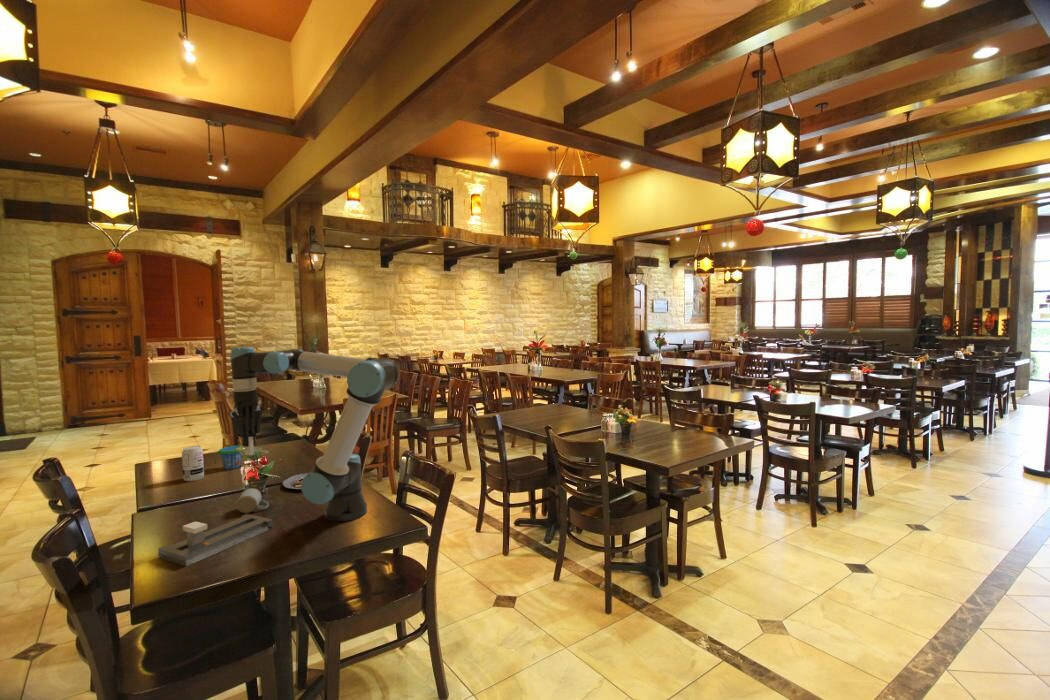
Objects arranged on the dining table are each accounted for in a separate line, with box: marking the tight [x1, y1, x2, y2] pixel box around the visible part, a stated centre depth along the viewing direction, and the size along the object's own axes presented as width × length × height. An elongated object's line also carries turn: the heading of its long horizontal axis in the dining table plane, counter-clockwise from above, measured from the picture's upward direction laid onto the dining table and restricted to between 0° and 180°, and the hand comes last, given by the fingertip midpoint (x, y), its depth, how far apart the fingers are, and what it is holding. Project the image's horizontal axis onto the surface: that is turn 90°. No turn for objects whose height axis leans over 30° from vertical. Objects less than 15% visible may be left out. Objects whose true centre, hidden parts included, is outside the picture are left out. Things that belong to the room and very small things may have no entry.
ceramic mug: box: [236, 488, 270, 514], centre depth 194 cm, size 11×8×8 cm
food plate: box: [282, 471, 311, 491], centre depth 226 cm, size 25×23×4 cm
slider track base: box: [157, 513, 274, 567], centre depth 166 cm, size 30×14×3 cm, turn 155°
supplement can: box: [181, 445, 205, 482], centre depth 234 cm, size 8×8×15 cm
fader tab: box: [182, 521, 208, 548], centre depth 159 cm, size 4×6×7 cm, turn 65°
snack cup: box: [213, 445, 243, 470], centre depth 251 cm, size 16×10×10 cm
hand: (249, 454), depth 179 cm, fingers closed
